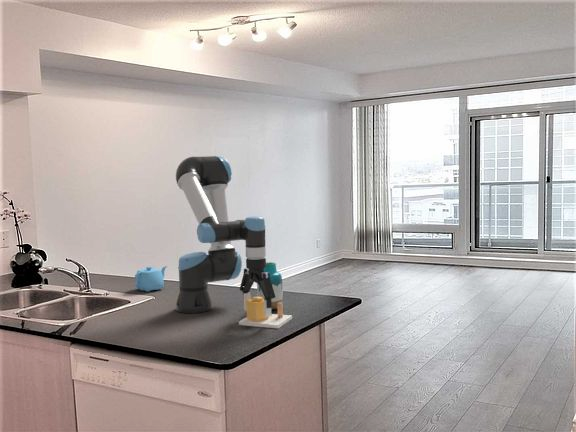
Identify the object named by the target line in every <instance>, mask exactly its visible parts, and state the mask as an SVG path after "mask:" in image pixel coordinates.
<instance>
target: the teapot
mask: <svg viewBox="0 0 576 432" xmlns="http://www.w3.org/2000/svg"><path fill="white" fill-rule="evenodd" d="M167 267H168V265H164V266H162V268H161V269H158V268H154V267H152V266H146V267H145V268H144V269H138V270H137V271H136V273H135V275H134V279H135V288H136V289H138V290H140V291H143V292H144V291H145V293H148V292H151V291H154V290H155V291H159V290H161V289H164V285H165V282H164V281H165V280H164V279H165V273H166V272H165V271H166V268H167Z"/></svg>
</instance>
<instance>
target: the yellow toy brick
mask: <svg viewBox="0 0 576 432" xmlns="http://www.w3.org/2000/svg"><path fill="white" fill-rule="evenodd" d="M246 305H247V310H246V317H247V318H248V319H250V320H253V321H260V320H264V319H269V317H264V299H262V297H258V296H253V297H251V299H250V300H246Z"/></svg>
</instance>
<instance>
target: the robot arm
mask: <svg viewBox="0 0 576 432" xmlns="http://www.w3.org/2000/svg"><path fill="white" fill-rule="evenodd" d="M232 173H233V172H232V167H231V164H230V162H229V160H228V159H227V158H226V157H224V156H216V155H213V156H212V155H211V156H210V155H209V156H189V157H187V158H185V159H184V160H182V161H181V162H180V163H179V164H178V166H177V168H176V171H175V181H176V184H177V186H178V187H179V189H180V190H181V191H183V193H184V195H185V197H186V200H187V202H188V204H189V206H190V208H191V210H192V212H193V214H194V217H195V218H196V220H197V223H198V225H197V227H196V235H197V239H198V241H199V242H200V243H201V244H202V243H203V244H210V247H209V249H208V250H207V253H206V252H205V251H197V252H191V253H186V254H183V255H182V256H180V257H179V259H178V268H177V269H178V278H179V279H178V284H179V285H178V286H179V294H178V296H177V300H176V303H175V310H176V312H178V313H182V314H197V313H205V312H208V311H211V310H213V301H212V298H211V295H210V292H209V289H208V286H209V285H208V283H215V282H223V281H230V280H234V279H237V278H238V277H239V276H240V274H241V271H242V266H243V265H242V262H243V261H242V257H241V254H240V253H239V252H238V251H236V247H235V246H234V245H232V241H245V258H246V259H245V266H246V267H245V268H243V275H242V278H241V282H240V285H239V291H241V292H242V295H243V310H244V311H247V305H246V300H250V299H252V297H251V296H252V295H251V294H252V293H251V288H252V287H253V285H254V284H255V283H256V285H257V284H258V285H259V286H260V288H261V290H262V292H263V295H264V297H265V299H264V317H269V316H271V314H272V310H271V307H272V299H273V298H275V293H274V290H273V287H272V283H271V280H270V274H269V272H266V273H264V268H265V267H266V263H267V258H266V256H267V255H266V225H265V224H266V222H265V218H264V217H263V216H247V217H246V218H245V219H237V220H233V221H229V215H228V208H227V206H228V205H227V197H226V189H227V188H228V186H229V183H230V181H231V180H232ZM262 280H263V281H262ZM267 295H268V296H267Z"/></svg>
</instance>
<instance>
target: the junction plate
mask: <svg viewBox="0 0 576 432" xmlns="http://www.w3.org/2000/svg"><path fill="white" fill-rule="evenodd" d="M283 303H284V302H283V301H282V302H279V303H277V307H278V308H277V313H276V314H275V313H271V316H269V319H264V320H260V321H253V320H250V319H248V318H247V316H246V317H244V318H243V319H241V320H240V321H238V325H239V326H247V327H248V326H249V327H256V328H257V327H259V328H269V329H280V328H281V327H283V326H284V325H285V324H287V323H288V322H290V321H291V320H293V315H290V314H289V315H288V314H284V312H283V311H284V310H283V309H284V306H283Z"/></svg>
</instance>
